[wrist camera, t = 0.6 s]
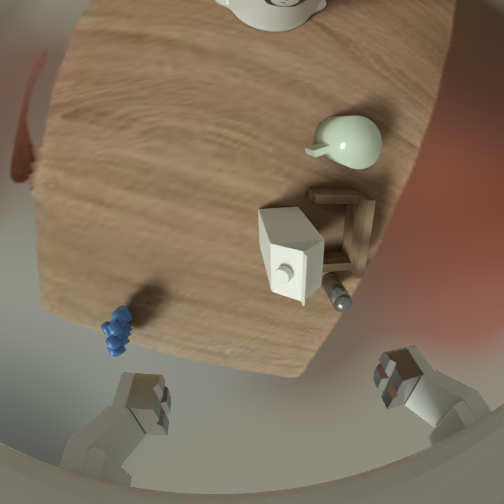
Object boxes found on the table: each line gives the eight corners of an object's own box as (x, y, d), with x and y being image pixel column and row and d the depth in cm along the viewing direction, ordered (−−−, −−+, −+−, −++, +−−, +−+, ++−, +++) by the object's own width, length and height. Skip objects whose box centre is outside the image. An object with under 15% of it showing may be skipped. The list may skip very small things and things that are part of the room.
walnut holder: (307, 187, 47) (321, 199, 40) (355, 188, 48) (375, 200, 41) (303, 259, 54) (314, 281, 46) (347, 257, 54) (363, 277, 47)
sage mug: (294, 127, 43) (309, 128, 35) (349, 111, 42) (374, 110, 34) (309, 171, 46) (326, 181, 38) (362, 153, 45) (387, 161, 37)
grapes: (109, 287, 53) (88, 323, 42) (139, 294, 54) (123, 333, 43) (109, 327, 57) (93, 364, 47) (136, 335, 59) (124, 373, 48)
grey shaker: (322, 273, 55) (338, 301, 46) (338, 271, 55) (356, 299, 47) (320, 288, 57) (335, 317, 48) (336, 286, 57) (353, 315, 48)
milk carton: (298, 206, 49) (335, 252, 32) (297, 242, 52) (330, 302, 35) (257, 208, 48) (275, 258, 31) (259, 246, 52) (275, 309, 34)
